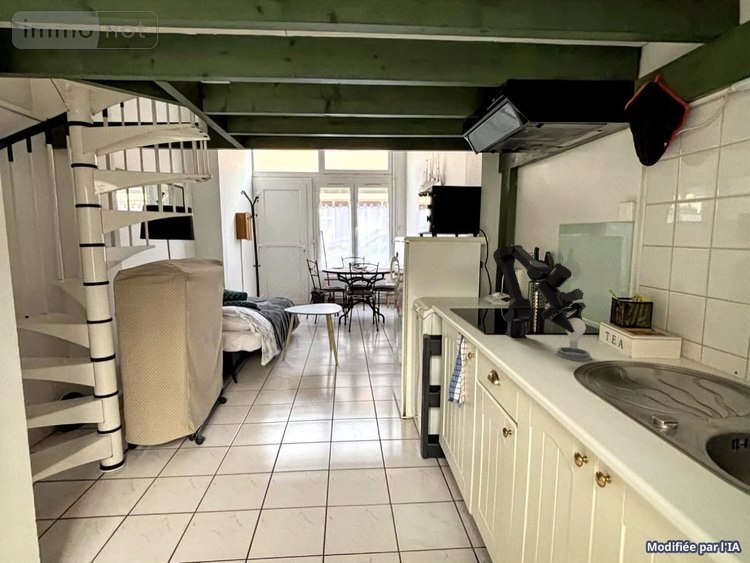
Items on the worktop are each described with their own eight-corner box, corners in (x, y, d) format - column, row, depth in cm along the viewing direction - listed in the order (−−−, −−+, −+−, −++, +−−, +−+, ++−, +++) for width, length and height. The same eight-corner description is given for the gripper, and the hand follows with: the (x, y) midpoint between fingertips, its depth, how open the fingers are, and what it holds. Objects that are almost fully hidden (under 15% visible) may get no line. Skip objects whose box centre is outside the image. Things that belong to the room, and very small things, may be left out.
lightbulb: (587, 351, 135) (590, 320, 134) (568, 351, 135) (571, 320, 134) (578, 346, 141) (580, 316, 140) (560, 346, 142) (562, 315, 140)
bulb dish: (566, 361, 132) (567, 355, 132) (549, 351, 143) (550, 346, 143) (598, 361, 133) (598, 355, 133) (578, 351, 144) (579, 346, 144)
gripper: (552, 282, 133) (581, 321, 126) (583, 279, 144) (611, 315, 136) (530, 301, 141) (556, 339, 133) (561, 297, 151) (586, 332, 143)
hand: (578, 331), depth 136 cm, fingers closed on lightbulb, 6 cm apart
